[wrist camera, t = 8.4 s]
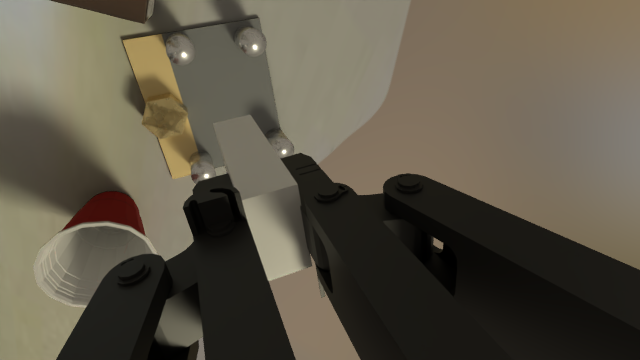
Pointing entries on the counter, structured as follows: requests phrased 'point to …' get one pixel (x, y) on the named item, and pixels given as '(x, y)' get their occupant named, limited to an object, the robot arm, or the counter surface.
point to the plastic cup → (90, 248)
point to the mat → (205, 87)
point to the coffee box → (117, 8)
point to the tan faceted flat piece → (165, 115)
